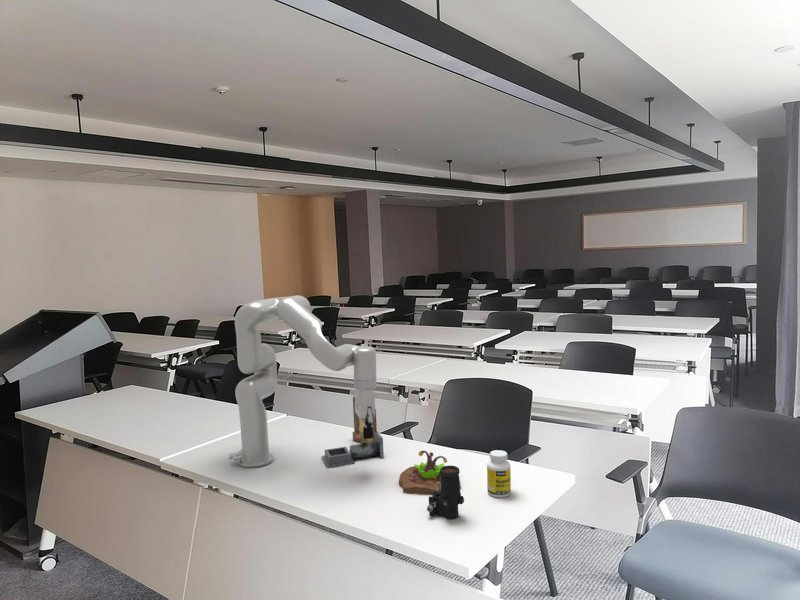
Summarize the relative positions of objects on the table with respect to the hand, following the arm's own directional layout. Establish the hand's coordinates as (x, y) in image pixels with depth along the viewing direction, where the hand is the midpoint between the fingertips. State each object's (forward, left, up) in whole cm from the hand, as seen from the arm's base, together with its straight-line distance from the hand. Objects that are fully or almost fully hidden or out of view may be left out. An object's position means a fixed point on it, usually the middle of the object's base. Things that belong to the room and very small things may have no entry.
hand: (366, 435), depth 195 cm
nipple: (0, 0, -2) cm, 2 cm away
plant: (+17, -15, -14) cm, 27 cm away
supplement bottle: (+34, -31, -14) cm, 48 cm away
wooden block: (+7, +30, -14) cm, 33 cm away
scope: (+14, -38, -14) cm, 43 cm away
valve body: (-2, +15, -13) cm, 20 cm away
